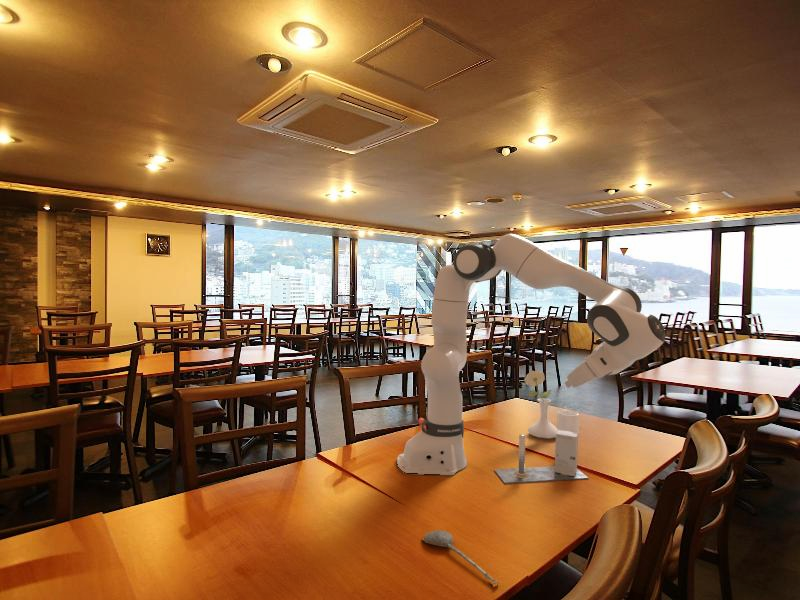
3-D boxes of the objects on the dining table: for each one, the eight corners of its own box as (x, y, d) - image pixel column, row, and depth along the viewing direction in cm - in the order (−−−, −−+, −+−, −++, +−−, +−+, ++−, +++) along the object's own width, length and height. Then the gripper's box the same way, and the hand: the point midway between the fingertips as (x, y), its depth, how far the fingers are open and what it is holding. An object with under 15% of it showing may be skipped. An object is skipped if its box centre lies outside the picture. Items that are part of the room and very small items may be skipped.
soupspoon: (438, 534, 107) (416, 544, 103) (437, 520, 107) (415, 529, 103) (508, 583, 89) (483, 597, 85) (507, 566, 89) (482, 580, 85)
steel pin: (518, 476, 134) (519, 437, 133) (514, 472, 137) (515, 433, 136) (528, 476, 134) (528, 436, 134) (524, 472, 137) (524, 433, 137)
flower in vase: (558, 432, 174) (559, 368, 173) (560, 442, 163) (562, 374, 162) (523, 429, 177) (524, 366, 176) (523, 439, 166) (524, 372, 165)
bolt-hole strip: (504, 483, 130) (504, 482, 130) (494, 470, 139) (494, 469, 139) (588, 479, 134) (588, 477, 134) (573, 466, 143) (573, 465, 143)
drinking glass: (574, 453, 153) (575, 409, 153) (580, 461, 147) (581, 416, 146) (554, 452, 154) (555, 409, 153) (559, 460, 147) (560, 415, 146)
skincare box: (554, 472, 137) (554, 433, 136) (556, 467, 141) (557, 429, 140) (575, 477, 134) (576, 437, 133) (577, 471, 138) (578, 432, 137)
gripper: (620, 338, 131) (587, 360, 140) (584, 357, 118) (550, 381, 128) (635, 356, 128) (600, 378, 138) (600, 378, 116) (564, 400, 126)
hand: (575, 379), depth 133 cm, fingers open, 8 cm apart
